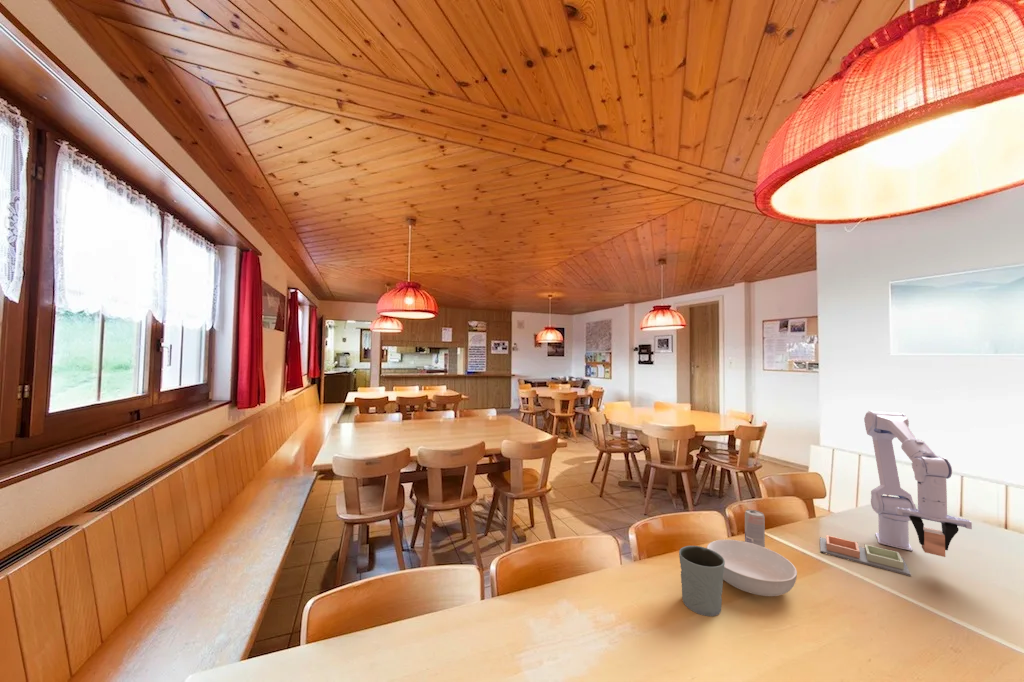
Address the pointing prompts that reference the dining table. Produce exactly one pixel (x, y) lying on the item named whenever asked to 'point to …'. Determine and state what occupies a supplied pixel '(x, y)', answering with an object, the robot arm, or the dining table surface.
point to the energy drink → (755, 527)
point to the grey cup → (702, 579)
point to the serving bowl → (755, 568)
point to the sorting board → (864, 554)
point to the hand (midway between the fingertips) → (933, 546)
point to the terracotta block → (934, 542)
